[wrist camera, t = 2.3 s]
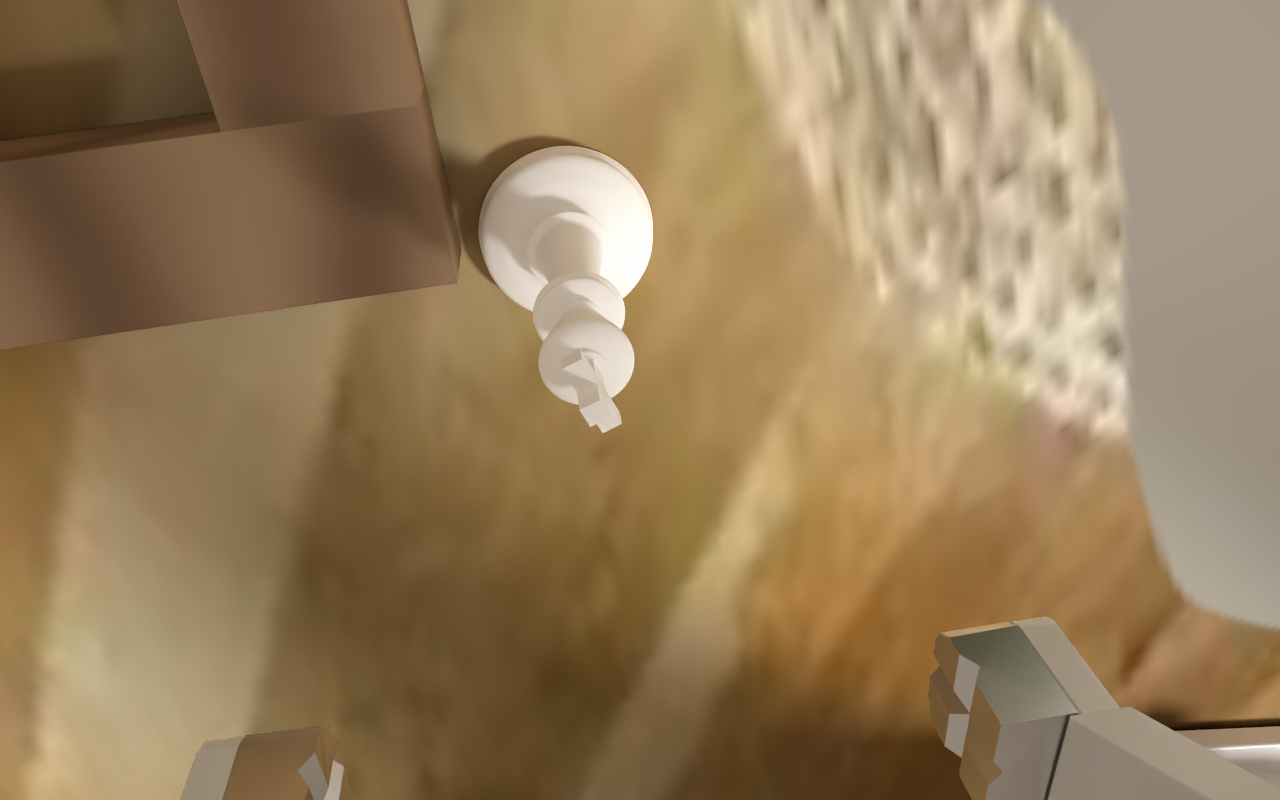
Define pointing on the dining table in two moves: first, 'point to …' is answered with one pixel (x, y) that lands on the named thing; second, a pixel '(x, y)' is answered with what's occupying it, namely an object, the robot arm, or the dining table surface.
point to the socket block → (237, 183)
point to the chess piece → (571, 266)
